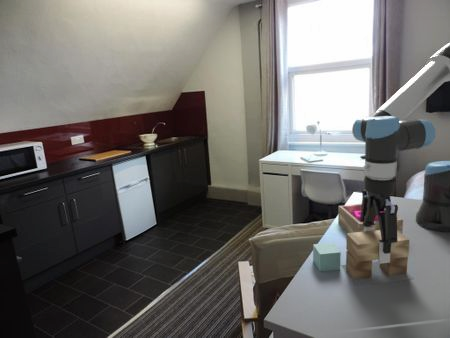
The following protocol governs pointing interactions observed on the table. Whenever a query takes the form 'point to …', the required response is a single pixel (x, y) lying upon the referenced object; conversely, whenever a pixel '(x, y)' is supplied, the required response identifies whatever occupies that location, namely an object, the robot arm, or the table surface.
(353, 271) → the pillar
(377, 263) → the mat
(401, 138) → the robot arm
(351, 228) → the wooden open box
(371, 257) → the lintel
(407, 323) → the table surface
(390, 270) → the pillar
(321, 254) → the cube
